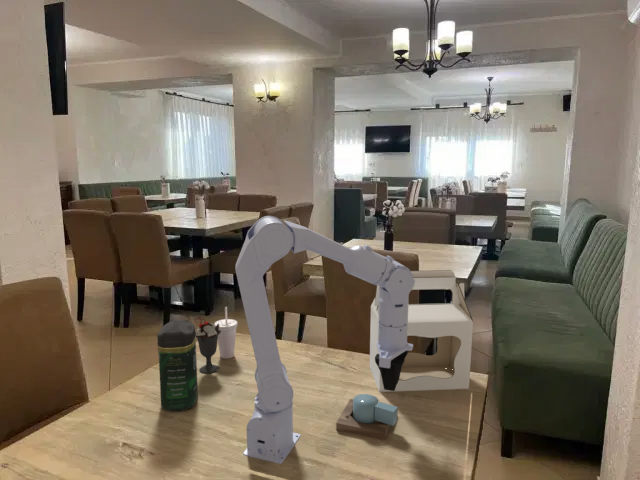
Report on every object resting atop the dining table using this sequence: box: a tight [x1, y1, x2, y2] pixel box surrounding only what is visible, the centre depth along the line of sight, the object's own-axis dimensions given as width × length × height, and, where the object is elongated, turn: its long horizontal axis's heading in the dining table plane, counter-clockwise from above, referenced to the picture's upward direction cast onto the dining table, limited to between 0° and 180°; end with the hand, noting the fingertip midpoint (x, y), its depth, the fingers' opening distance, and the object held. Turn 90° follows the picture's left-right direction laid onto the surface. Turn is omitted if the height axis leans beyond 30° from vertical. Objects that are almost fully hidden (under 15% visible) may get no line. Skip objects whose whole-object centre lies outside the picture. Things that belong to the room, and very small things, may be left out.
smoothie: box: [213, 306, 239, 360], centre depth 128 cm, size 6×6×14 cm
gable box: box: [369, 269, 474, 393], centre depth 114 cm, size 22×13×28 cm, turn 94°
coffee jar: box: [156, 319, 199, 412], centre depth 104 cm, size 10×8×19 cm
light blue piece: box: [352, 393, 399, 427], centre depth 95 cm, size 9×5×5 cm, turn 58°
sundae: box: [195, 315, 221, 375], centre depth 120 cm, size 7×7×15 cm
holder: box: [335, 398, 391, 441], centre depth 97 cm, size 10×10×2 cm
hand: (391, 386), depth 93 cm, fingers open, 2 cm apart
